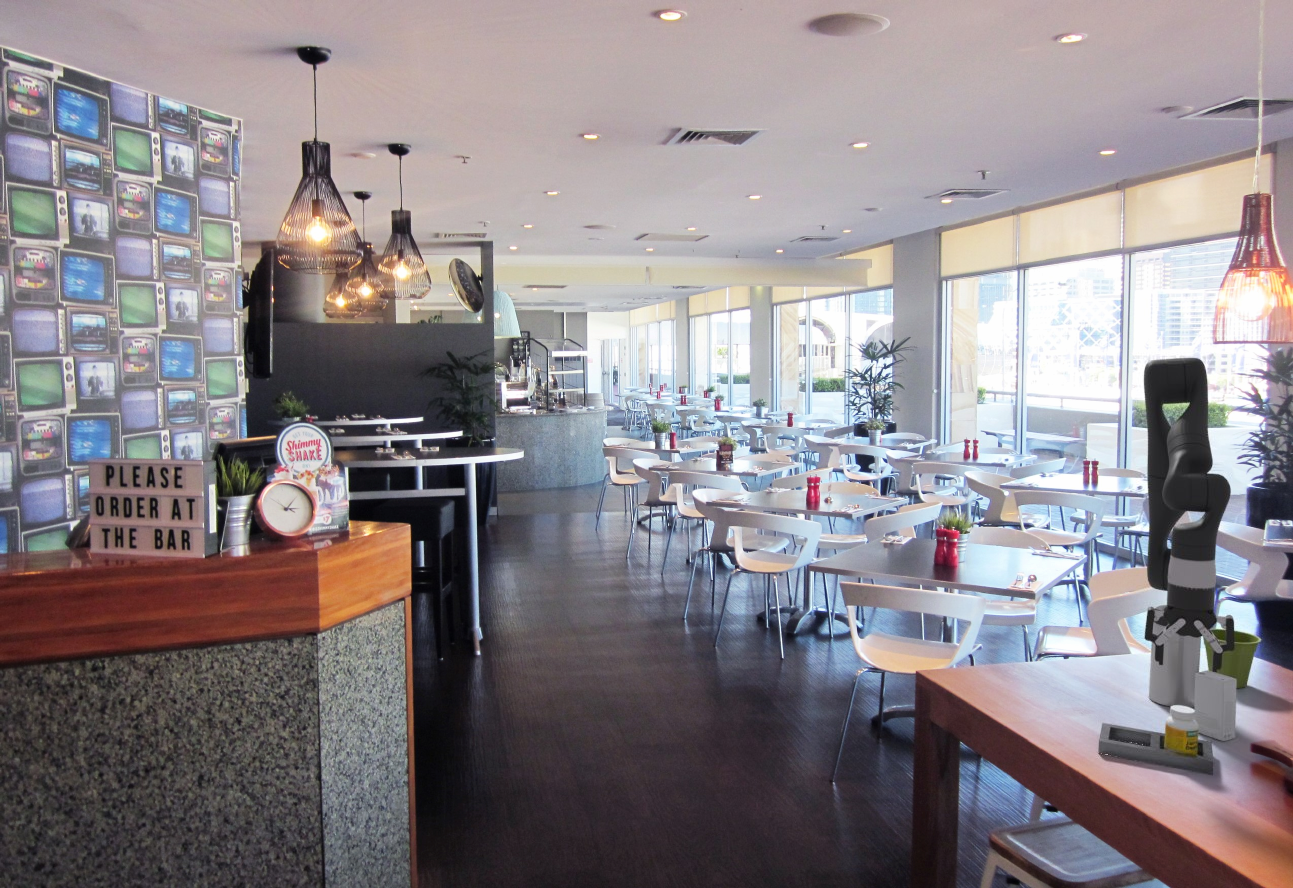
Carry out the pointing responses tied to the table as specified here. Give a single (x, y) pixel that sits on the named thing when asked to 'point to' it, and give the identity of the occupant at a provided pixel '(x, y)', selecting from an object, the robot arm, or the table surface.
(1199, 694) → the skincare box
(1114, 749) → the rail
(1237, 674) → the plant pot
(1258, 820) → the table surface
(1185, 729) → the supplement bottle
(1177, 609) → the robot arm
